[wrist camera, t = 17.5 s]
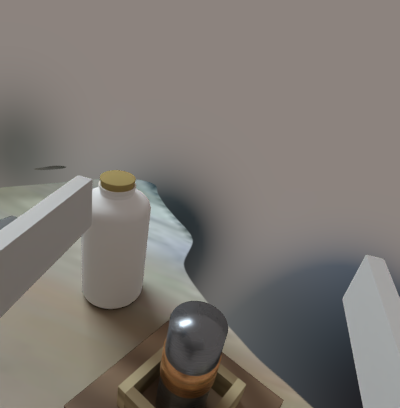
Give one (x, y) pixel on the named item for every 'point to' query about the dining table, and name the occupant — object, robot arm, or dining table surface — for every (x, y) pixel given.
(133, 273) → the potion bottle
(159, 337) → the socket
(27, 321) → the dining table surface
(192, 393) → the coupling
